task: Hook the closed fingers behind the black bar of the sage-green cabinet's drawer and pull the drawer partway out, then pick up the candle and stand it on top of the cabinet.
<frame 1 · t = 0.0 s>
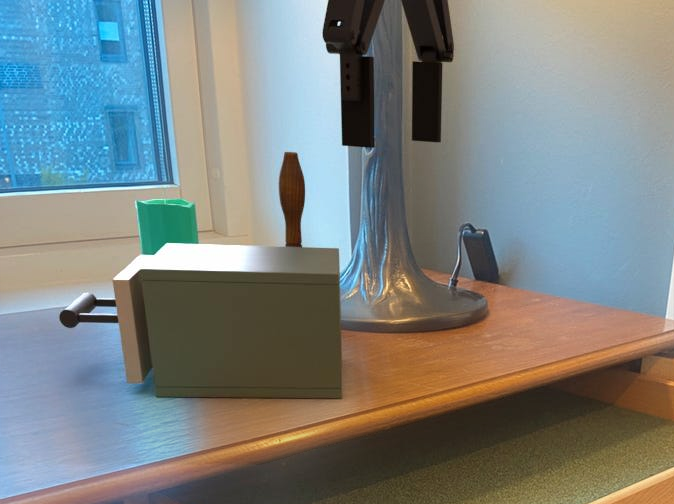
hand: (394, 144, 86), 17 cm above the table, tool pointing down, fingers open, 13 cm apart
candle: (176, 307, 105), on the table
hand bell: (296, 323, 101), on the table
cabinet: (256, 376, 82), on the table
drawer: (187, 317, 79), point 5 cm above the table, slide at 1.0 cm
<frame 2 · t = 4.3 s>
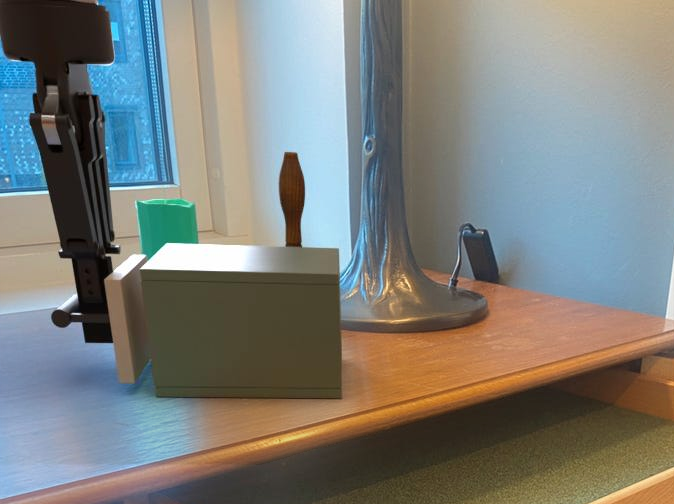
hand: (104, 340, 79), 3 cm above the table, tool pointing down, fingers closed
drawer: (180, 317, 79), point 5 cm above the table, slide at 1.6 cm
everything else where it was.
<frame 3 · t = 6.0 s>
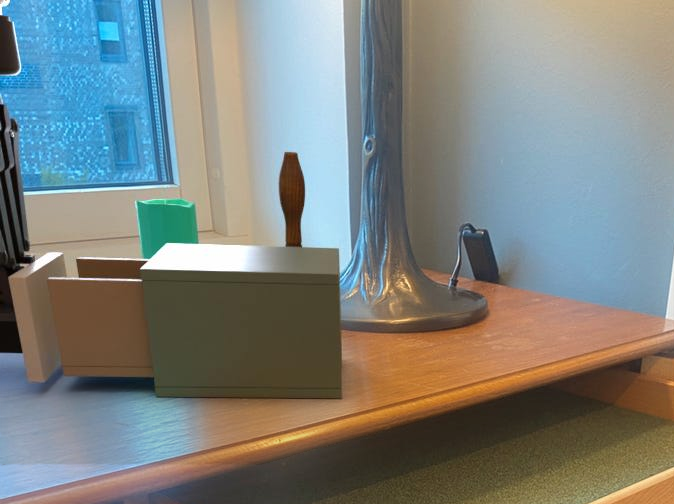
hand: (19, 350, 79), 2 cm above the table, tool pointing down, fingers closed
drawer: (94, 316, 78), point 5 cm above the table, slide at 8.4 cm
everything else where it was.
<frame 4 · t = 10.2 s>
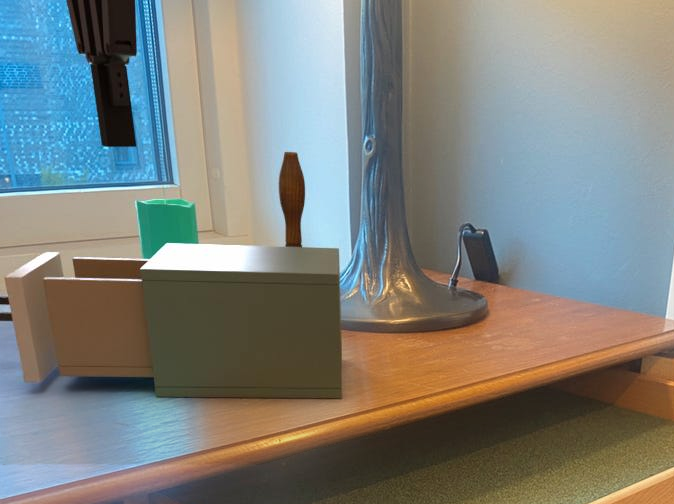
hand: (119, 145, 89), 16 cm above the table, tool pointing down, fingers closed
nothing on the table moved.
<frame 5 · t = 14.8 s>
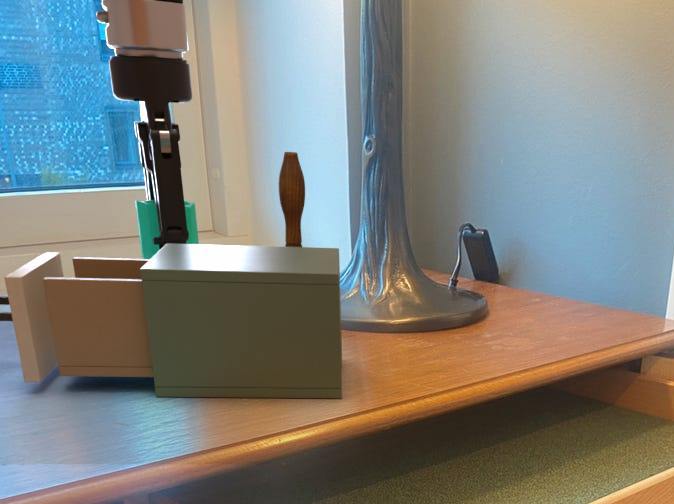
hand: (176, 302, 104), 0 cm above the table, tool pointing down, fingers closed on candle, 6 cm apart
candle: (176, 307, 105), on the table, touching gripper
everything else where it was.
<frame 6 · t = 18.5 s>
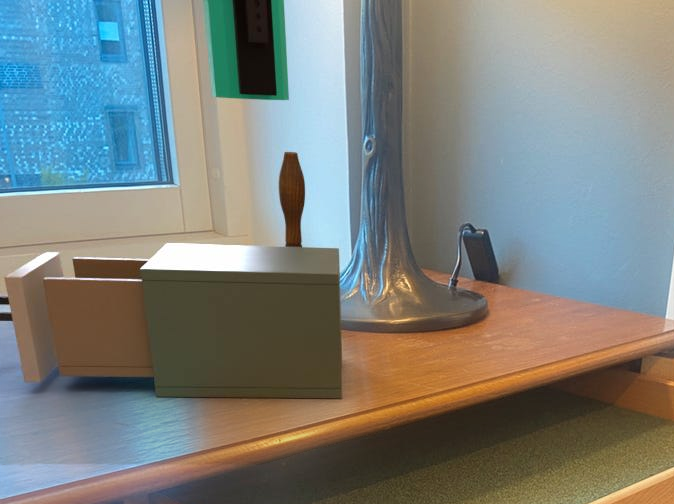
hand: (249, 93, 76), 21 cm above the table, tool pointing down, fingers closed on candle, 6 cm apart
candle: (250, 101, 76), point 21 cm above the table, touching gripper
everything else where it was.
when the fingers open (10 cm above the table, at t = 22.5 s): candle stays where it is, resting on cabinet.
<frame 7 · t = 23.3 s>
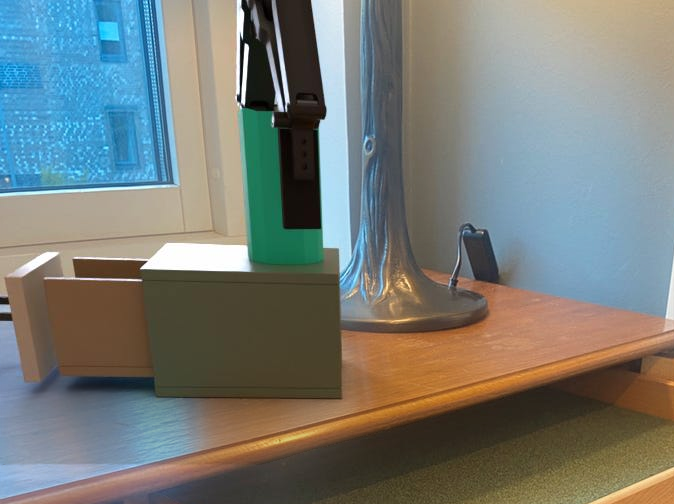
hand: (282, 217, 76), 13 cm above the table, tool pointing down, fingers open, 13 cm apart
candle: (286, 261, 78), point 9 cm above the table, touching cabinet
everything else where it was.
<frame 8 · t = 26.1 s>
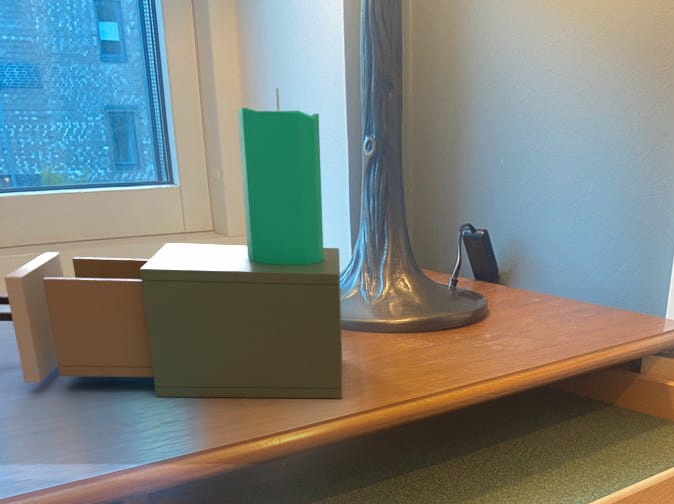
nothing on the table moved.
at the end: drawer slide at 8.7 cm; candle inside the target area on the cabinet (3.1 cm from its centre), point 9.4 cm above the cabinet's base; candle tilted 0° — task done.
